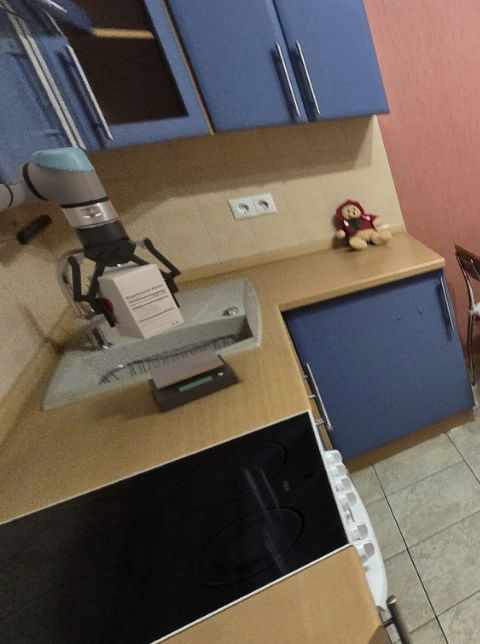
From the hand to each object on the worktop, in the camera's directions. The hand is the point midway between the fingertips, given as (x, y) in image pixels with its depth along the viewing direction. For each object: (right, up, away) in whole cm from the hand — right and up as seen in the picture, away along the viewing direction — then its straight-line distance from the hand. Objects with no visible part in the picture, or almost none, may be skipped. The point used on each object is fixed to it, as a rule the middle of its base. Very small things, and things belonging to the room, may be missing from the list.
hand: (146, 315), depth 122 cm
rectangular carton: (0, -3, +2) cm, 4 cm away
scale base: (+3, -18, +10) cm, 21 cm away
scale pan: (+2, -13, +9) cm, 16 cm away
